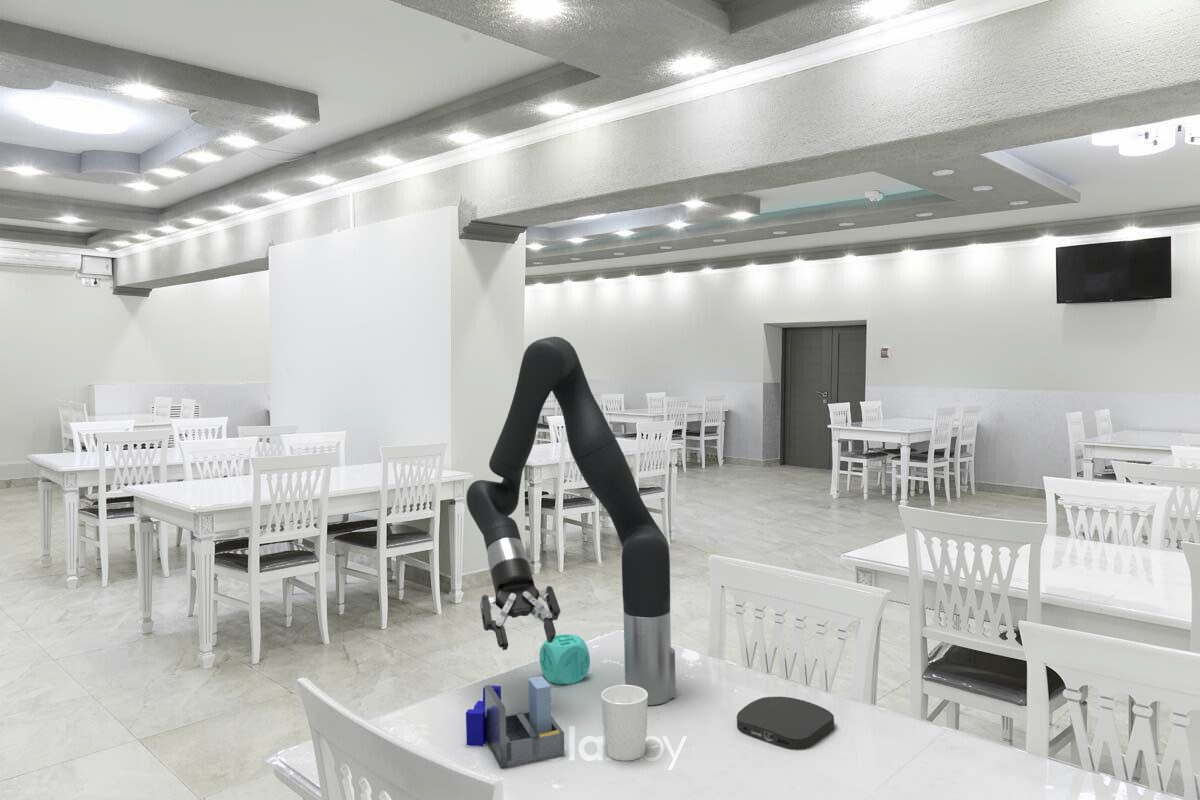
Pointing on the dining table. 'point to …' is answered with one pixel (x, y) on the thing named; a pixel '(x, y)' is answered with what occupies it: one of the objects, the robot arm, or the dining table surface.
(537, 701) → the light blue rectangular block
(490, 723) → the grey compartment holder
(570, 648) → the decorative dice
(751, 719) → the media streaming box
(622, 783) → the dining table surface
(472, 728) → the blue piece
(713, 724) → the dining table surface
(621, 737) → the white cup
